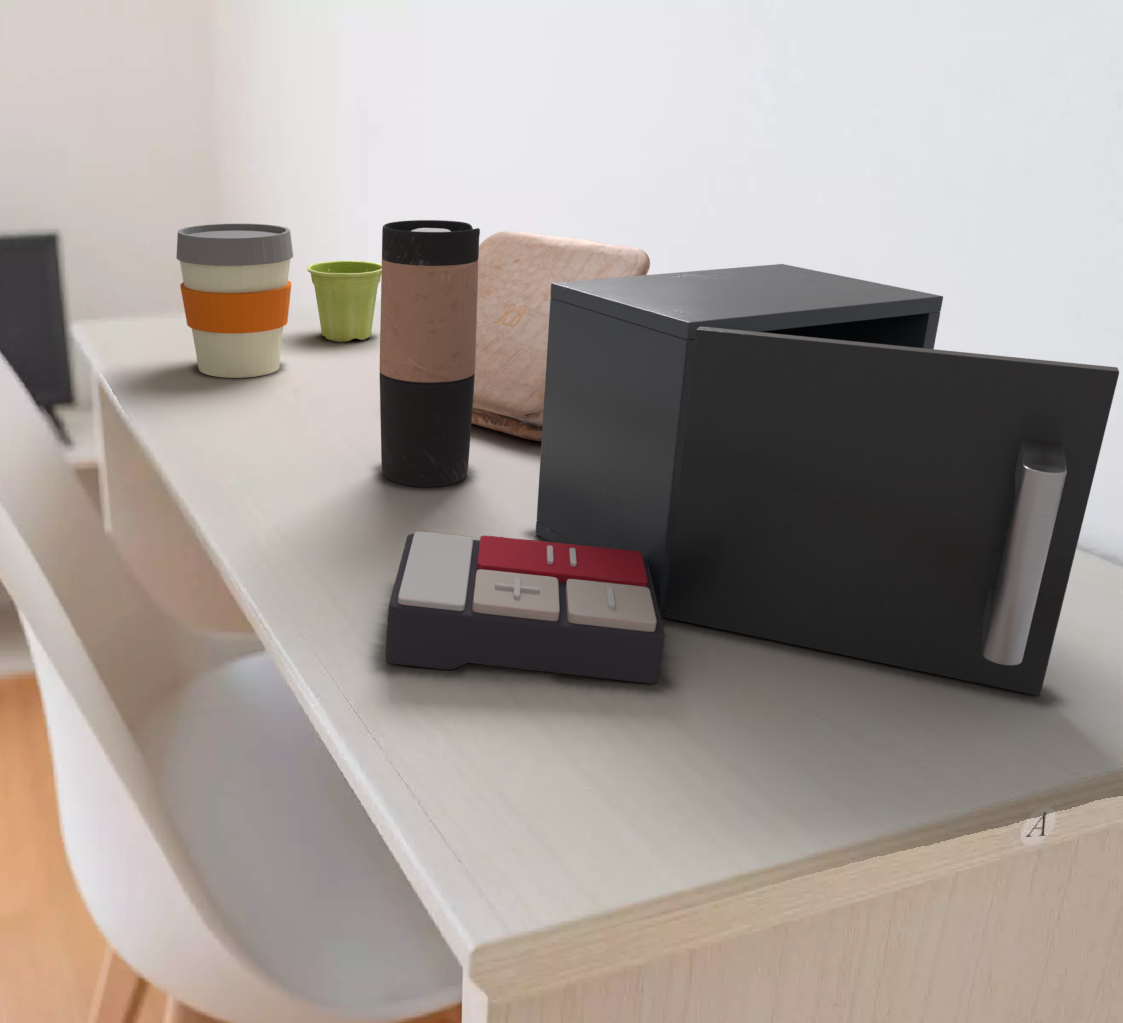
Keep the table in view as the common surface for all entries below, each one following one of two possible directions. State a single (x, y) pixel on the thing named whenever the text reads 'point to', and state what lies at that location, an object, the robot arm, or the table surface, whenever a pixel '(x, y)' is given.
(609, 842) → the table surface
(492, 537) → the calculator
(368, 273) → the plant pot
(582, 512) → the dark grey cabinet
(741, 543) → the dark grey door
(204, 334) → the reusable coffee cup
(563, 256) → the case
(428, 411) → the travel mug
